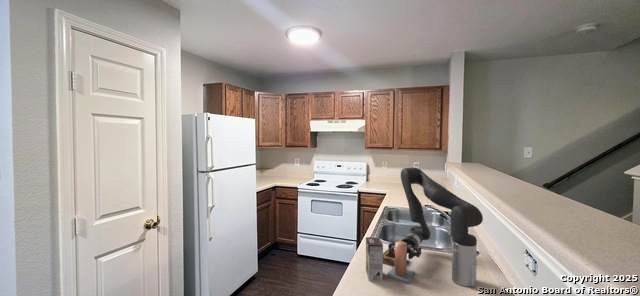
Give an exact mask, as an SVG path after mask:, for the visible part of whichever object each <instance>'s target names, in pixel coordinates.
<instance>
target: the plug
mask: <svg viewBox="0 0 640 296" xmlns="http://www.w3.org/2000/svg"><path fill="white" fill-rule="evenodd" d="M394 242H395V248H394V250H395V274H396V275H397V276H401V277H404V276H406V270H407V257H408V256H407V255H408V253H407V243H405V242H402V241H401V240H397V241H394Z"/></svg>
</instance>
